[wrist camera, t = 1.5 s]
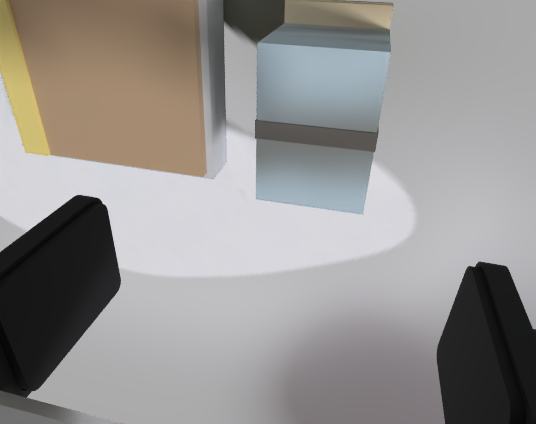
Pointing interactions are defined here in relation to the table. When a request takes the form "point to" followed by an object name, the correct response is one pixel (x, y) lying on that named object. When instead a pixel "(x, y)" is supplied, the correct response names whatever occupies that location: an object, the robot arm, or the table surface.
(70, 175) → the table surface
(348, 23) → the banded blue box
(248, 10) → the table surface
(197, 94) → the dock
